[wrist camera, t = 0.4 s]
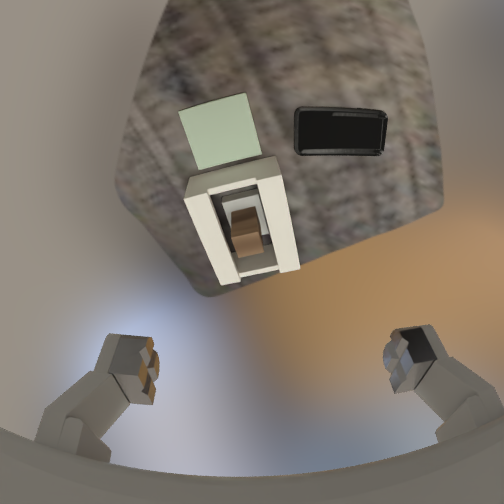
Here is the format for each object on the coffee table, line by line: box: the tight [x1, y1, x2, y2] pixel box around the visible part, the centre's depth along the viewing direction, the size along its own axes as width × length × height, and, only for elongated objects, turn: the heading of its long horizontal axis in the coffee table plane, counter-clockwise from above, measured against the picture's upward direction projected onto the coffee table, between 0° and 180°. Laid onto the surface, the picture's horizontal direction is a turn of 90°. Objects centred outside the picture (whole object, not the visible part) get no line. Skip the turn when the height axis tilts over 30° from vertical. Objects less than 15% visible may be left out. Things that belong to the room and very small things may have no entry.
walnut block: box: [231, 206, 264, 258], centre depth 48 cm, size 4×4×7 cm
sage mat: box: [178, 92, 262, 170], centre depth 43 cm, size 10×10×1 cm
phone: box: [294, 107, 388, 156], centre depth 43 cm, size 8×1×15 cm
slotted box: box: [184, 156, 300, 285], centre depth 50 cm, size 18×14×7 cm
